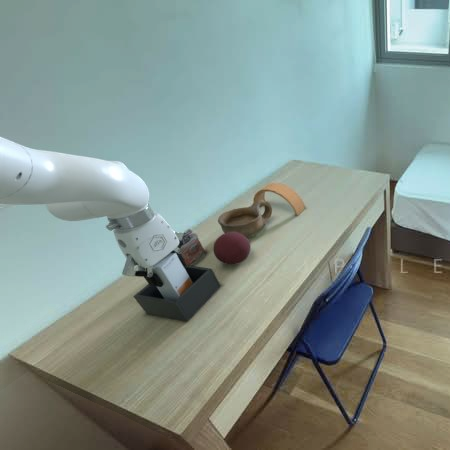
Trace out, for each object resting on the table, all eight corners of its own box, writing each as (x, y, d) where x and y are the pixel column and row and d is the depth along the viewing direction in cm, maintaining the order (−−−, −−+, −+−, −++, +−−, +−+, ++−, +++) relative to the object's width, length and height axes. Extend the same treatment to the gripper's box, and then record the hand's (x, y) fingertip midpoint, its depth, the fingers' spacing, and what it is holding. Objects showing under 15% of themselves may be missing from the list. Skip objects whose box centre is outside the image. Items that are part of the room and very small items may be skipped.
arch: (297, 216, 117) (290, 193, 111) (254, 208, 123) (246, 186, 117) (305, 208, 121) (300, 185, 116) (264, 201, 127) (257, 179, 122)
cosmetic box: (182, 302, 80) (160, 268, 73) (166, 302, 80) (143, 268, 73) (195, 285, 85) (176, 252, 78) (180, 285, 85) (160, 252, 78)
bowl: (250, 210, 119) (248, 188, 113) (281, 224, 117) (280, 203, 111) (212, 235, 106) (207, 213, 99) (246, 252, 104) (243, 230, 97)
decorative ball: (261, 253, 99) (251, 227, 94) (240, 274, 92) (228, 248, 86) (236, 248, 102) (225, 223, 96) (213, 268, 94) (199, 242, 88)
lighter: (191, 268, 94) (177, 242, 89) (181, 267, 95) (166, 242, 89) (208, 251, 101) (196, 227, 95) (199, 251, 101) (186, 226, 96)
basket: (187, 322, 78) (174, 303, 74) (146, 314, 80) (132, 296, 76) (221, 286, 88) (211, 268, 84) (184, 280, 90) (173, 263, 86)
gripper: (107, 242, 61) (152, 303, 71) (177, 198, 75) (206, 255, 85) (78, 238, 62) (126, 298, 72) (152, 196, 76) (184, 252, 86)
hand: (169, 274), depth 79 cm, fingers closed on cosmetic box, 6 cm apart
